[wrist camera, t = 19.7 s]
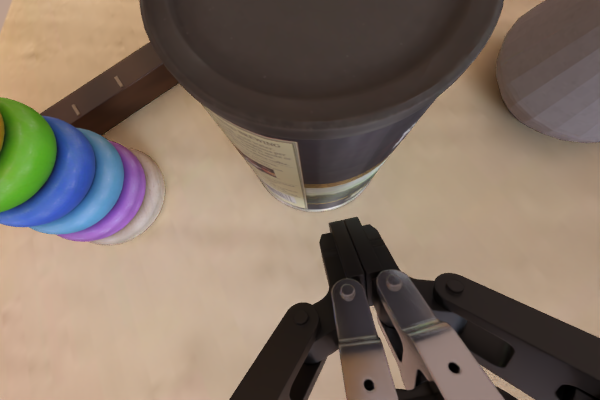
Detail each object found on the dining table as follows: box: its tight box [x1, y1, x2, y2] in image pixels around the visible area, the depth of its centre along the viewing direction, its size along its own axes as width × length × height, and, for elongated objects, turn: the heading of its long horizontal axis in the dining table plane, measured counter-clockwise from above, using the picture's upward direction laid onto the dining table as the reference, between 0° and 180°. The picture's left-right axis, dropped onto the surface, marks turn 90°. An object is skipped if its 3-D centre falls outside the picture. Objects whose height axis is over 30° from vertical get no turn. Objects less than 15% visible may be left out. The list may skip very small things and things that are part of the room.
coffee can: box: [140, 0, 504, 212], centre depth 14 cm, size 10×10×14 cm
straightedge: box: [40, 42, 179, 135], centre depth 22 cm, size 28×2×3 cm, turn 127°
